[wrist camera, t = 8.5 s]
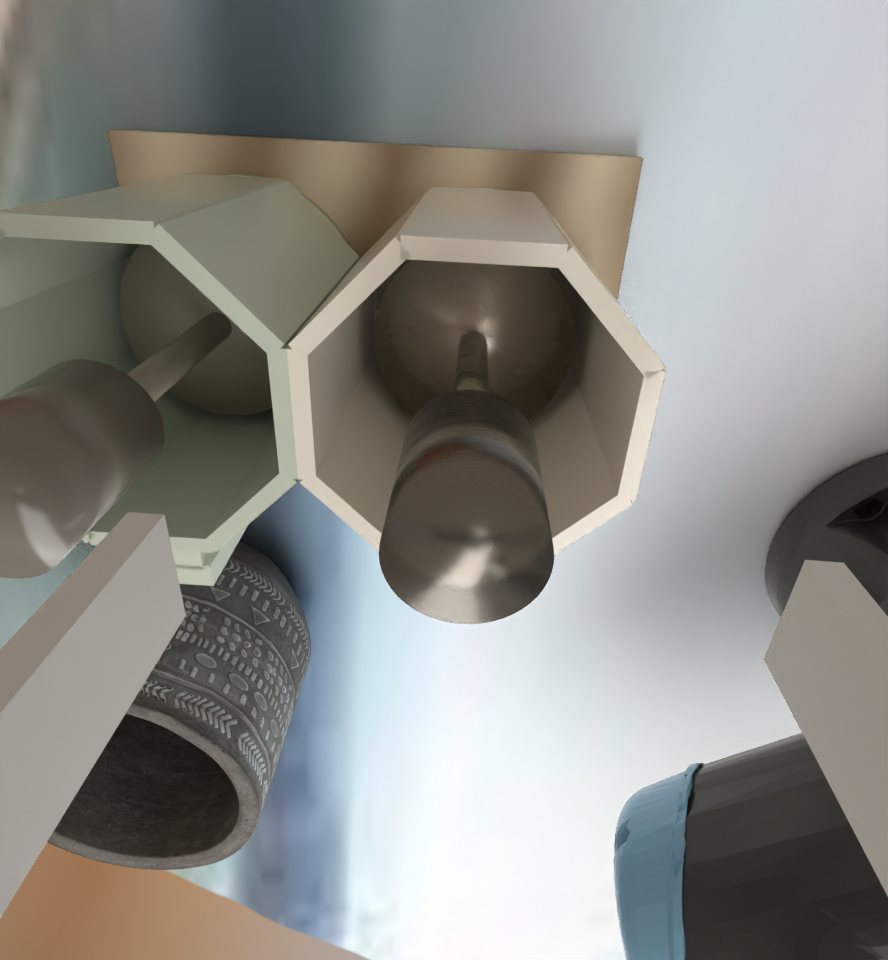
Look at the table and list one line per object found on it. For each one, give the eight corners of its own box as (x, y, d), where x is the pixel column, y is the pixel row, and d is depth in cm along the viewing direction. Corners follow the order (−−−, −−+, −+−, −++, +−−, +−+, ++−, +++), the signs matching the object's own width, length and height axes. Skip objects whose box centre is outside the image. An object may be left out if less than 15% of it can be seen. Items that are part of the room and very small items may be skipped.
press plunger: (586, 241, 25) (711, 390, 11) (557, 432, 29) (622, 703, 16) (374, 230, 25) (252, 362, 11) (377, 421, 29) (289, 679, 16)
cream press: (603, 193, 28) (694, 251, 16) (559, 467, 36) (600, 648, 23) (362, 180, 28) (276, 228, 16) (368, 455, 36) (310, 628, 24)
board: (637, 156, 29) (643, 158, 27) (587, 431, 36) (591, 440, 35) (121, 129, 29) (107, 130, 28) (173, 405, 36) (164, 414, 35)
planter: (96, 501, 40) (-88, 685, 27) (315, 510, 39) (235, 701, 26) (147, 660, 47) (22, 865, 34) (333, 668, 47) (277, 880, 34)
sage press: (362, 180, 28) (182, 279, 11) (368, 455, 36) (263, 771, 19) (125, 167, 29) (-406, 245, 12) (179, 443, 36) (-98, 744, 19)
